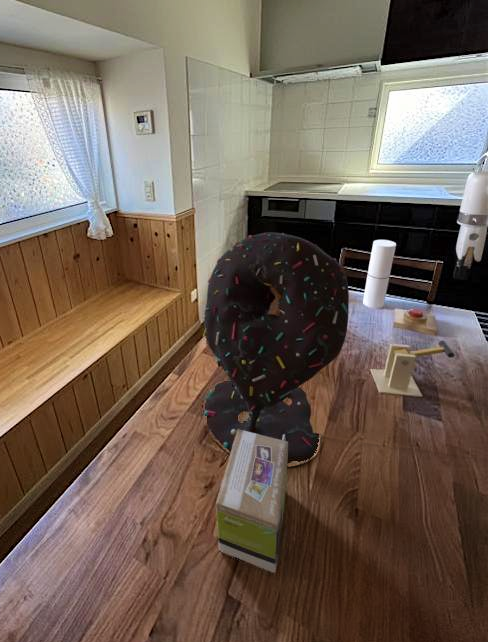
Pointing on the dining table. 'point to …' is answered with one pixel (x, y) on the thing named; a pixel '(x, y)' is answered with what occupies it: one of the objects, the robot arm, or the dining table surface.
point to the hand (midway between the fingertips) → (459, 278)
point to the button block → (414, 322)
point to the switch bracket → (397, 373)
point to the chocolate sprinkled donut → (272, 336)
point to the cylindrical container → (379, 273)
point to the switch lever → (429, 350)
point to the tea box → (253, 499)
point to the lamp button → (416, 312)
